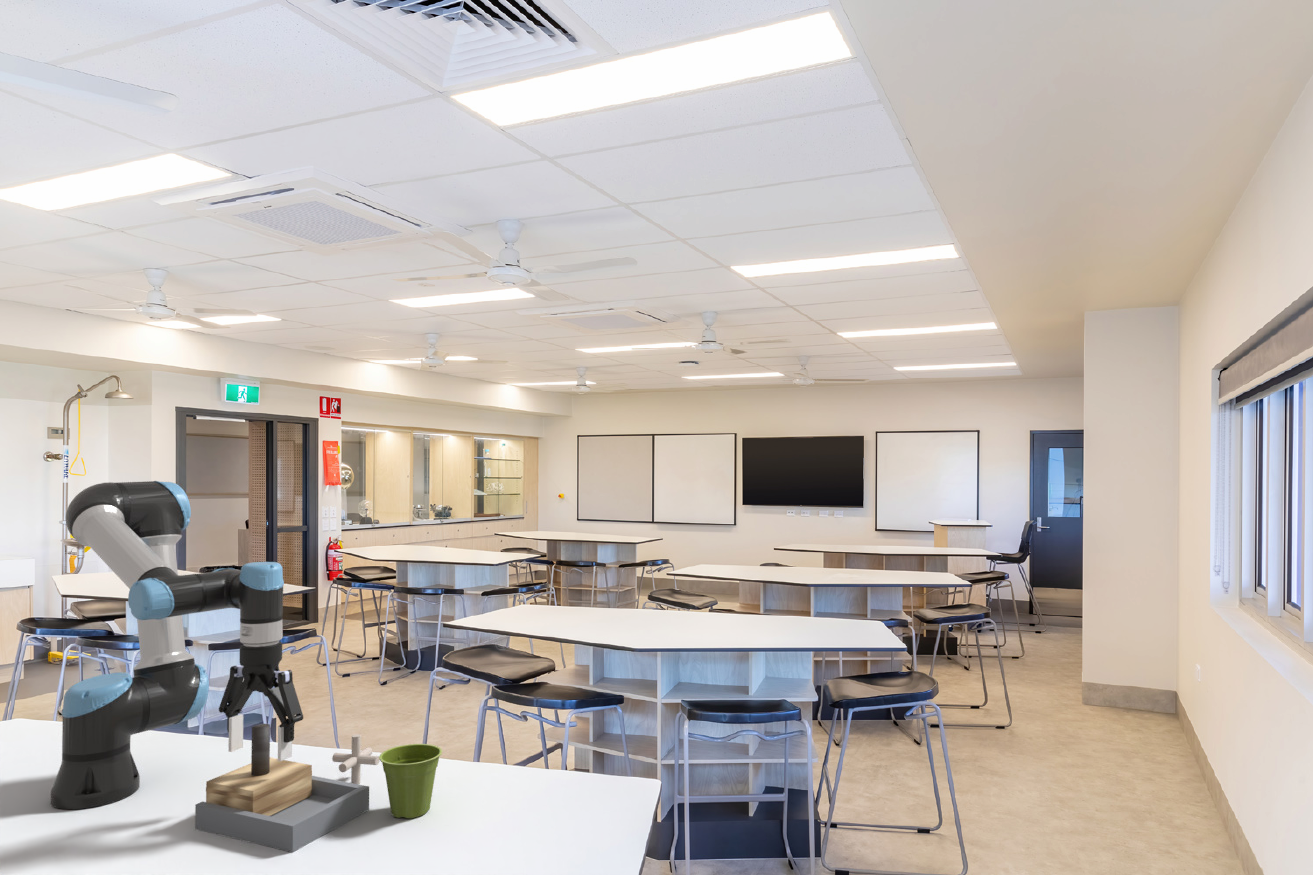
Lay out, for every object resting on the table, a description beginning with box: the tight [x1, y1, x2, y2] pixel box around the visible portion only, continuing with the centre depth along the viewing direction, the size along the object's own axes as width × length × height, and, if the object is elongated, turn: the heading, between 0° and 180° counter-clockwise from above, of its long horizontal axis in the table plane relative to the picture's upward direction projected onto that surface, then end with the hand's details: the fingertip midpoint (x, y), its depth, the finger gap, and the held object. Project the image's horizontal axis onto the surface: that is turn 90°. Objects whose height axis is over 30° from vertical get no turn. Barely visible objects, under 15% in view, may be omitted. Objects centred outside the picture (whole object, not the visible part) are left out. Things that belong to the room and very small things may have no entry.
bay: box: [194, 775, 370, 853], centre depth 158 cm, size 24×19×4 cm
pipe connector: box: [331, 733, 380, 785], centre depth 175 cm, size 10×10×10 cm
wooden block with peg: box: [205, 723, 313, 816], centre depth 160 cm, size 12×14×15 cm
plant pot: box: [378, 743, 443, 819], centre depth 161 cm, size 12×12×11 cm
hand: (259, 754), depth 161 cm, fingers open, 12 cm apart
